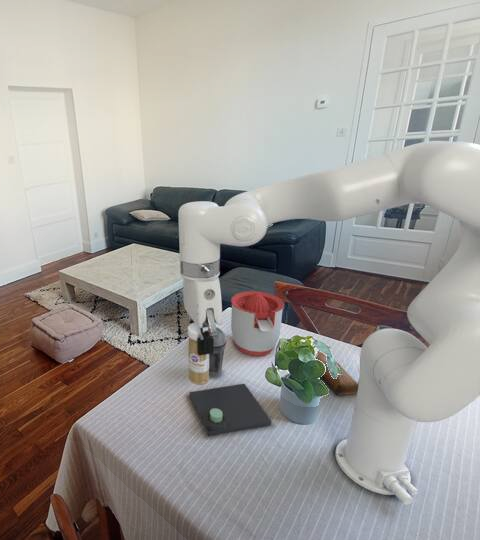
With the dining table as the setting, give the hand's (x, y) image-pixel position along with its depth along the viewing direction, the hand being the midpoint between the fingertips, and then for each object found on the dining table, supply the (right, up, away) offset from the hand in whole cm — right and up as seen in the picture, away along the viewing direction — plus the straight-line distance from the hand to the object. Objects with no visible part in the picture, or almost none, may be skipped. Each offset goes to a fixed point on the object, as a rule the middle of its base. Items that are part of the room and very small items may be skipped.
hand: (200, 345), depth 72 cm
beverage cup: (+11, -15, +31) cm, 36 cm away
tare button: (+6, -20, +11) cm, 24 cm away
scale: (+11, -21, +16) cm, 29 cm away
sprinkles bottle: (0, -8, +3) cm, 9 cm away
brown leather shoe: (+44, -14, +26) cm, 53 cm away
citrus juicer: (+28, -10, +41) cm, 50 cm away
